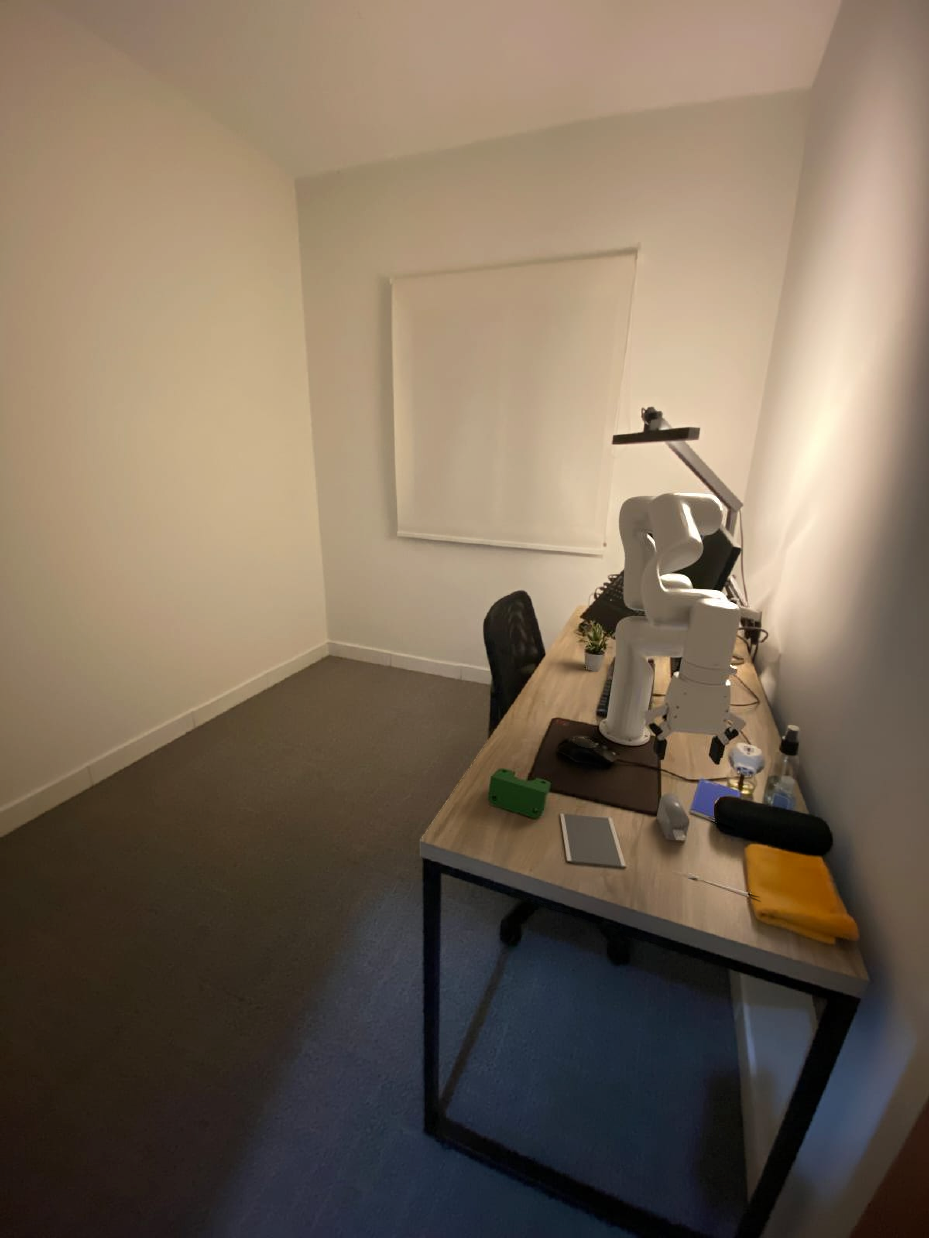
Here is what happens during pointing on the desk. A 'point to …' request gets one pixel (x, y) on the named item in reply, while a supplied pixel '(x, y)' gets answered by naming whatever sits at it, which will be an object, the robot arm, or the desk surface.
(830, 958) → the desk surface
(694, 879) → the stylus
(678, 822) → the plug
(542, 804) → the clamp
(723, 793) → the hard drive
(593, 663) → the house plant
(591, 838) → the mat
